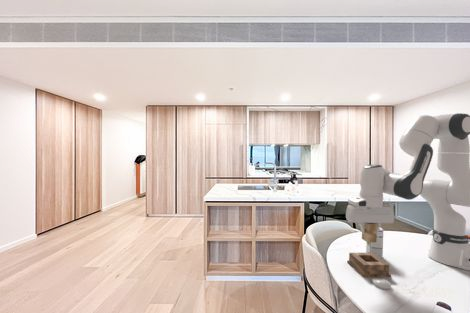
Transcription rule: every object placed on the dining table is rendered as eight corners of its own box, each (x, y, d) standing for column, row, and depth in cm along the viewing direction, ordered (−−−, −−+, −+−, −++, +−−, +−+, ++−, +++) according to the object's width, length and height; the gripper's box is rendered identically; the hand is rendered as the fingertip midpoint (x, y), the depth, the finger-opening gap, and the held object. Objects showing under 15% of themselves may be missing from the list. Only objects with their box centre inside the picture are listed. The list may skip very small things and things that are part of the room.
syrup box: (383, 258, 109) (384, 229, 108) (369, 257, 110) (371, 228, 110) (378, 253, 114) (379, 225, 114) (365, 252, 116) (366, 224, 115)
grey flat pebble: (382, 280, 91) (382, 277, 91) (394, 289, 85) (394, 286, 85) (368, 281, 90) (368, 277, 90) (379, 290, 84) (379, 286, 84)
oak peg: (370, 238, 100) (371, 221, 100) (376, 242, 96) (377, 224, 96) (361, 238, 100) (362, 221, 100) (367, 242, 96) (368, 223, 96)
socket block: (371, 262, 105) (372, 252, 105) (391, 277, 93) (391, 265, 93) (347, 262, 104) (347, 252, 104) (363, 277, 92) (363, 265, 92)
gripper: (388, 200, 101) (386, 230, 102) (344, 199, 100) (343, 229, 101) (399, 203, 95) (397, 235, 95) (352, 202, 94) (351, 234, 94)
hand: (369, 232), depth 98 cm, fingers closed on oak peg, 4 cm apart
